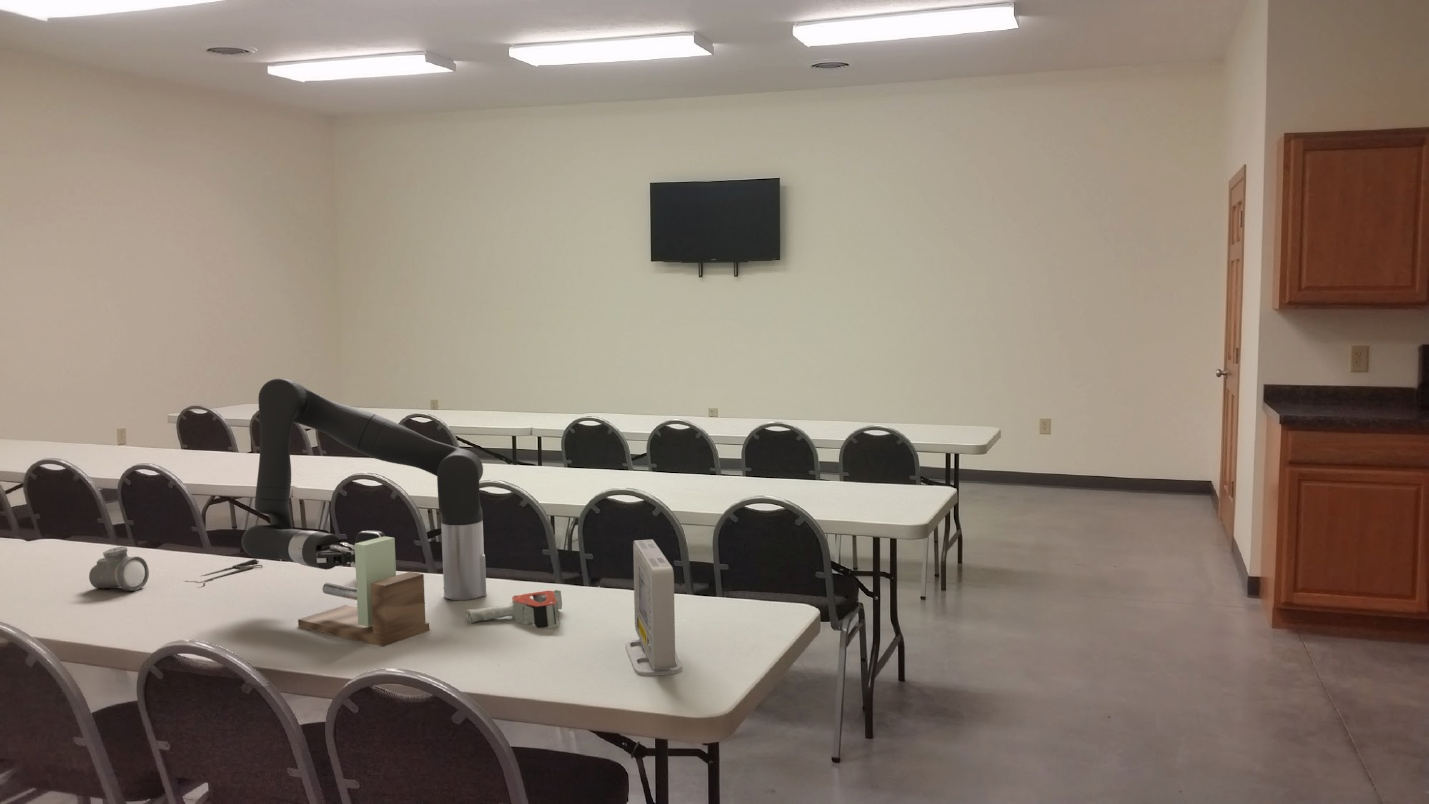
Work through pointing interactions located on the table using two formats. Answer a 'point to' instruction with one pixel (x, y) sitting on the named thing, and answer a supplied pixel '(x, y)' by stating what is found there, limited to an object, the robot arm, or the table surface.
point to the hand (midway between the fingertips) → (370, 559)
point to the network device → (653, 611)
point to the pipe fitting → (119, 571)
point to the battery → (368, 535)
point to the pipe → (340, 590)
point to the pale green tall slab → (372, 571)
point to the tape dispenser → (525, 610)
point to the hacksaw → (240, 566)
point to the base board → (379, 613)
